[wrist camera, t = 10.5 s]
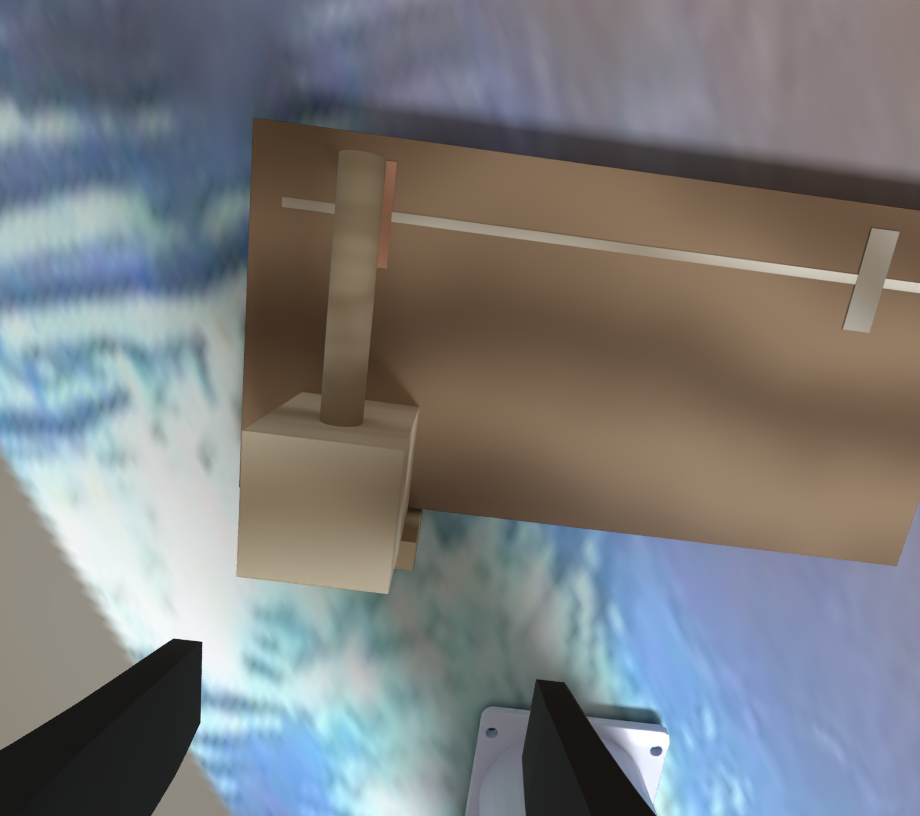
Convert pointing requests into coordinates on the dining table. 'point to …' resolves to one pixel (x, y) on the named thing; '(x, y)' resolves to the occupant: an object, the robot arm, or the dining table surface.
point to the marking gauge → (335, 435)
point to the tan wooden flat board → (610, 341)
